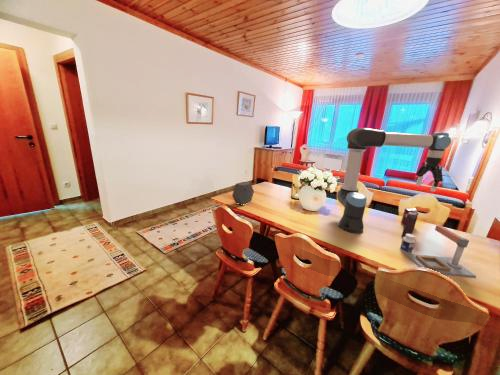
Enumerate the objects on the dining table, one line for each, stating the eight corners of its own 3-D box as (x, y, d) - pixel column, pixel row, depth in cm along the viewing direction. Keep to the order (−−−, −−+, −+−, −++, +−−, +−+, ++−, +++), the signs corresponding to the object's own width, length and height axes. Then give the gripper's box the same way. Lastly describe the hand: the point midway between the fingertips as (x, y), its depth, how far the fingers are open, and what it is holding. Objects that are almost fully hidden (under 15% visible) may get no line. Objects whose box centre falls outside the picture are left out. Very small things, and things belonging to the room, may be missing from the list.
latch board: (425, 272, 97) (432, 250, 94) (406, 254, 110) (412, 235, 107) (475, 277, 95) (484, 255, 92) (450, 258, 109) (457, 239, 105)
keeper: (460, 247, 97) (463, 241, 96) (433, 230, 114) (435, 224, 113) (469, 247, 97) (471, 241, 96) (440, 230, 113) (442, 225, 112)
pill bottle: (397, 248, 116) (401, 232, 114) (406, 248, 117) (410, 232, 114) (405, 253, 111) (409, 237, 108) (414, 253, 112) (419, 237, 109)
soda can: (415, 227, 144) (420, 211, 140) (403, 226, 145) (408, 210, 142) (409, 223, 150) (414, 208, 147) (398, 222, 152) (402, 206, 148)
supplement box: (410, 239, 127) (417, 216, 122) (401, 236, 130) (407, 213, 125) (412, 235, 133) (418, 212, 128) (403, 232, 136) (409, 210, 132)
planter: (248, 193, 184) (241, 176, 171) (255, 195, 180) (248, 178, 166) (238, 207, 176) (229, 191, 162) (245, 210, 171) (237, 193, 158)
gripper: (457, 160, 121) (446, 194, 127) (426, 155, 145) (418, 184, 151) (443, 159, 122) (433, 193, 128) (415, 154, 146) (407, 183, 152)
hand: (425, 188), depth 140 cm, fingers open, 13 cm apart
